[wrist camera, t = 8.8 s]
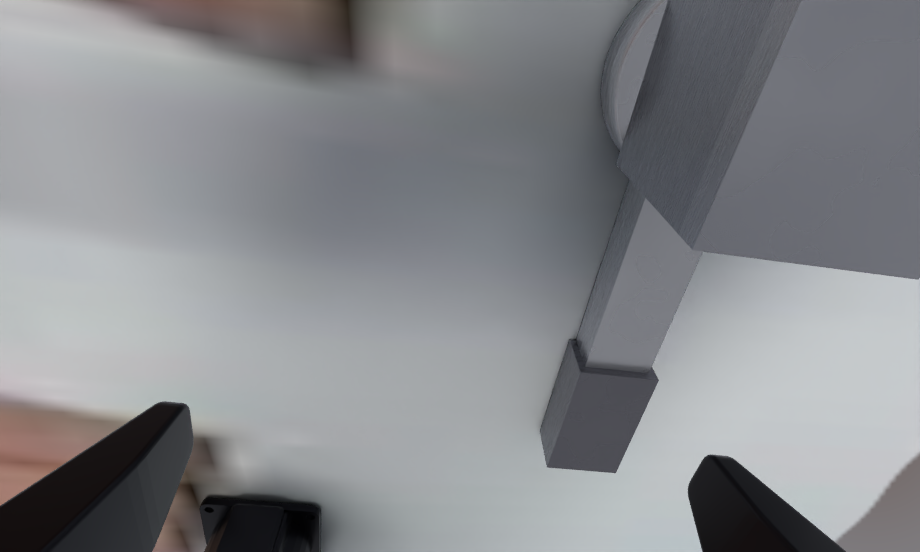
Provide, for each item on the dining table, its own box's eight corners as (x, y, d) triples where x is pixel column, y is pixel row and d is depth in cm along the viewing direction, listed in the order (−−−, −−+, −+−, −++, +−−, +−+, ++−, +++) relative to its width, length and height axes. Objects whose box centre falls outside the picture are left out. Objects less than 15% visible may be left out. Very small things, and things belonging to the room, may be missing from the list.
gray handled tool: (636, 439, 26) (678, 542, 21) (505, 428, 25) (518, 530, 21) (855, -24, 15) (1034, -25, 11) (639, -64, 15) (727, -83, 10)
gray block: (774, 187, 17) (918, 279, 12) (616, 164, 16) (691, 250, 11) (868, 0, 14) (1110, 13, 9) (678, -35, 13) (820, -43, 8)
